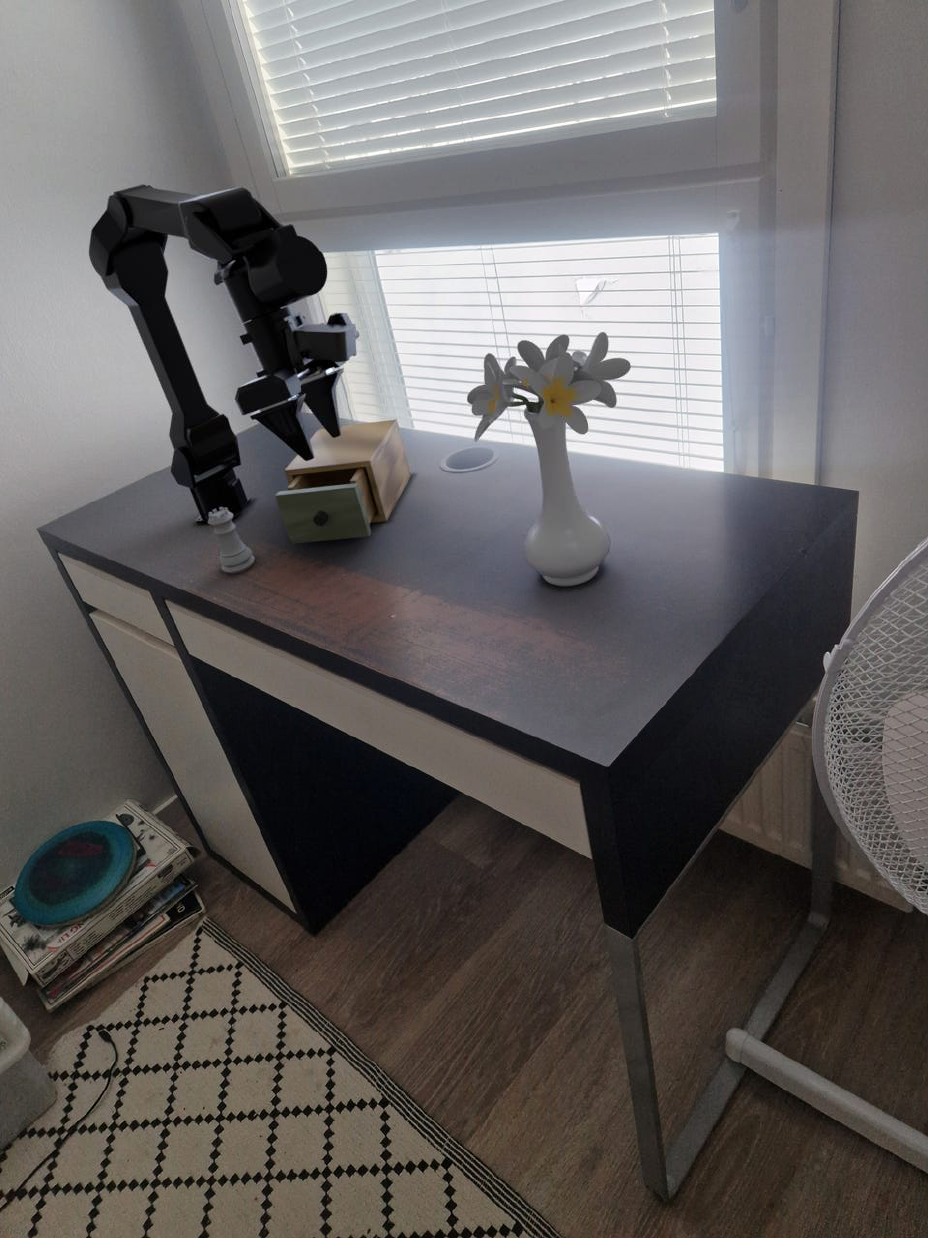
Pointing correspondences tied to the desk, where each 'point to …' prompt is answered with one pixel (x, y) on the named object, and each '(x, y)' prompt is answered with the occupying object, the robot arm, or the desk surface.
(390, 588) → the desk surface
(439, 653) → the desk surface
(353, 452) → the drawer unit
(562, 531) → the flower vase
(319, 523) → the drawer
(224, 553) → the rook chess piece
